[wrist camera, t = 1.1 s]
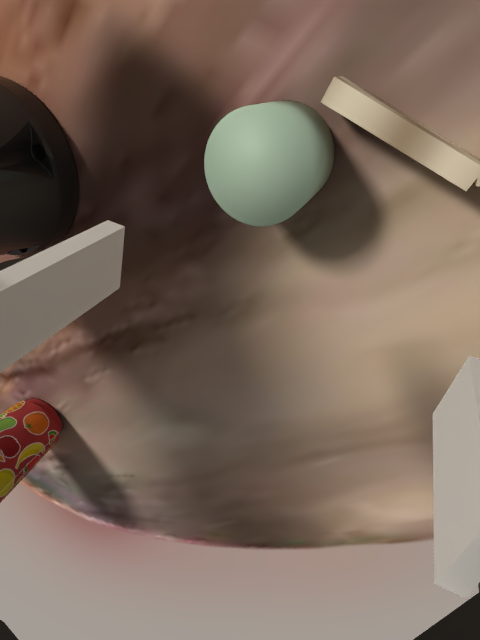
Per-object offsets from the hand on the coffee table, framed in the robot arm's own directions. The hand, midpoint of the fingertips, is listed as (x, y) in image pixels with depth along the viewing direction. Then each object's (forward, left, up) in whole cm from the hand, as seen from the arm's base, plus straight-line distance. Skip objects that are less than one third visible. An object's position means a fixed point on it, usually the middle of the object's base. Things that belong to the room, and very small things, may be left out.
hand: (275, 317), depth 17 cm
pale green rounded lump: (-6, 0, -19) cm, 19 cm away
